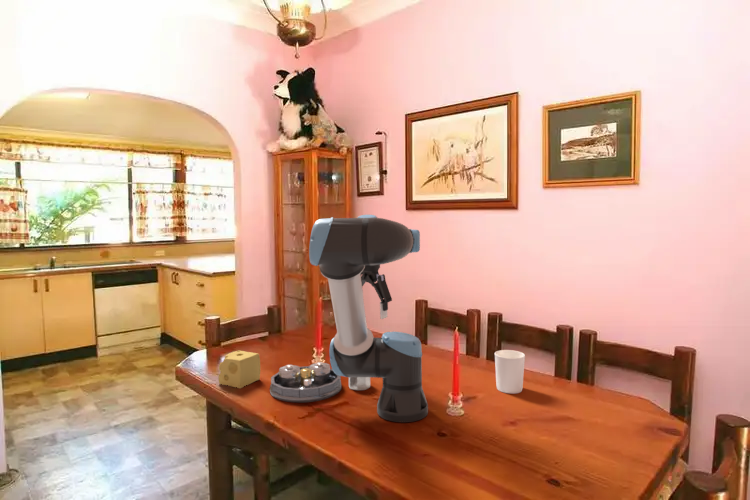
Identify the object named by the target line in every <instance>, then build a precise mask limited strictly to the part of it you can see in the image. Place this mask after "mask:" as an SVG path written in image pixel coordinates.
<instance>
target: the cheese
mask: <svg viewBox="0 0 750 500" xmlns="http://www.w3.org/2000/svg"><path fill="white" fill-rule="evenodd" d="M218 370H219V374H218V378H217V379H218V384H219V385H221V384H222V385H223V386H227V385H228V386H227V387H233V388H236V387H237V389H243V388H244V386H245V387H247V386H248V385H251V384H253V383H254V382H256V381H257V382H258V381H259V380H260V377H261V359H260V353H258V352H257V353H256V352H253V351H251V352H250V351H244V350H238V349H237V350H236V351H231V352H230V353H227V354H226V355H225V356H224V359H223V361H221V362H220V363H219V365H218ZM222 385H221V386H222ZM246 385H247V386H246Z"/></svg>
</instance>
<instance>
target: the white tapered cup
mask: <svg viewBox="0 0 750 500" xmlns="http://www.w3.org/2000/svg"><path fill="white" fill-rule="evenodd" d="M525 359H526V355H525V353H523V352H522V351H518V350H513V349H501V350H500V349H499V350H497V351H495V352H494V364H495V366H494V369H495V382H496V383H495V384H496V390H498V391H499V392H501V393H504V394H519V393H521V392H522V391H523V385H524V374H525V373H524V371H525Z"/></svg>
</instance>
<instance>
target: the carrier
mask: <svg viewBox="0 0 750 500" xmlns="http://www.w3.org/2000/svg"><path fill="white" fill-rule="evenodd" d="M341 377H342V376H338V375H336V374H335V373H334V372H333V370H332V368H331V364H329V363H327V362H322V361H317V362H315V363H312V364H310V365H308V366H307V365H306V366H299V365H295V364H294V365H293V364H286V365H284V366H280V367H279V369H278V372H277V373H275V374H273V375H272V376H271V377H270V383H271V384H270V386H269V392H270V396H272V397H273V398H274V399H276V400H279V401H281V402H282V401H283V402H288V403H300V404H301V403H311V402H312V403H313V402H319V401H323V400H326V399H329V398H332V397H334V396H335V395H338V394H339V392H340V391H341V390H342V380H341V379H342V378H341Z"/></svg>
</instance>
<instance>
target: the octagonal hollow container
mask: <svg viewBox="0 0 750 500" xmlns="http://www.w3.org/2000/svg"><path fill="white" fill-rule="evenodd" d="M348 387H349V389H350V390H354V391H365V390H368V389H369V388H371V377H348Z"/></svg>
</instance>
